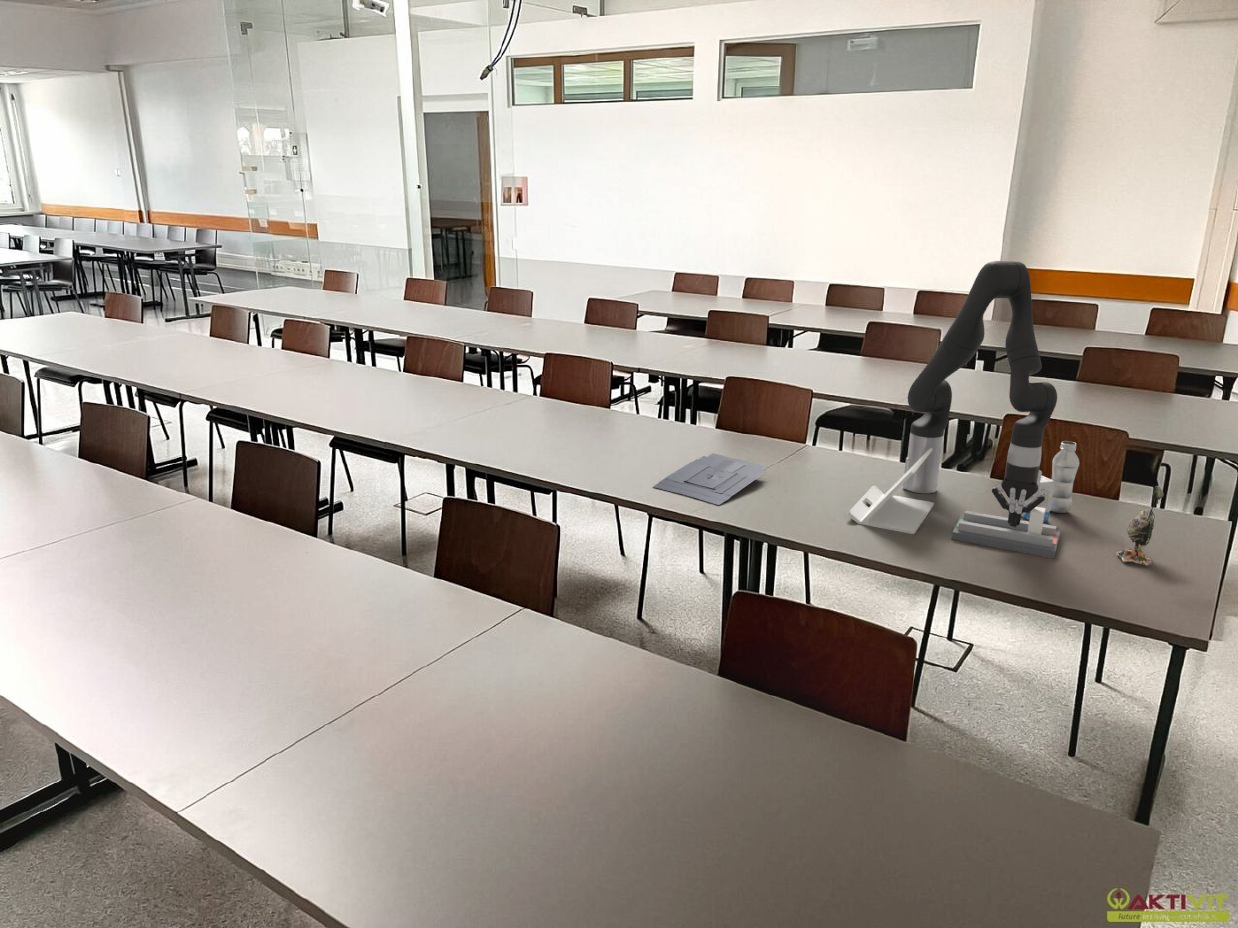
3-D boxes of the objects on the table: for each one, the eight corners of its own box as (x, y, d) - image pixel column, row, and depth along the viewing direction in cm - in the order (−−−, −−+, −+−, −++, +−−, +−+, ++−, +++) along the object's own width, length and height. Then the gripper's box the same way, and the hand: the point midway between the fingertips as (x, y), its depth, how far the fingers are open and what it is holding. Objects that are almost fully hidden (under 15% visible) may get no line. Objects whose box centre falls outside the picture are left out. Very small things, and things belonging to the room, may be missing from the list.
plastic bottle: (1047, 505, 247) (1058, 438, 241) (1073, 511, 243) (1085, 442, 237) (1040, 511, 242) (1052, 443, 236) (1067, 517, 238) (1079, 448, 232)
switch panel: (951, 539, 224) (953, 524, 223) (961, 521, 236) (962, 507, 235) (1054, 558, 213) (1056, 543, 212) (1058, 538, 224) (1061, 524, 223)
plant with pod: (1156, 554, 215) (1172, 478, 209) (1149, 570, 207) (1166, 491, 200) (1119, 546, 220) (1134, 471, 213) (1111, 561, 211) (1126, 484, 205)
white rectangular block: (1026, 537, 220) (1030, 511, 217) (1028, 531, 223) (1032, 506, 221) (1039, 539, 218) (1043, 513, 216) (1041, 533, 222) (1045, 508, 219)
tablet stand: (934, 505, 248) (941, 448, 242) (914, 535, 227) (921, 473, 222) (870, 494, 256) (876, 438, 251) (845, 521, 236) (851, 462, 231)
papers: (773, 475, 268) (773, 464, 267) (719, 513, 248) (719, 502, 246) (708, 459, 283) (707, 449, 281) (652, 494, 262) (651, 483, 261)
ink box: (1049, 521, 236) (1057, 470, 231) (1033, 523, 234) (1041, 471, 230) (1027, 510, 243) (1035, 460, 239) (1012, 512, 242) (1020, 462, 238)
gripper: (992, 461, 217) (983, 525, 222) (1051, 469, 211) (1040, 535, 216) (997, 453, 223) (988, 516, 229) (1054, 461, 217) (1043, 525, 222)
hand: (1013, 525), depth 222 cm, fingers closed
